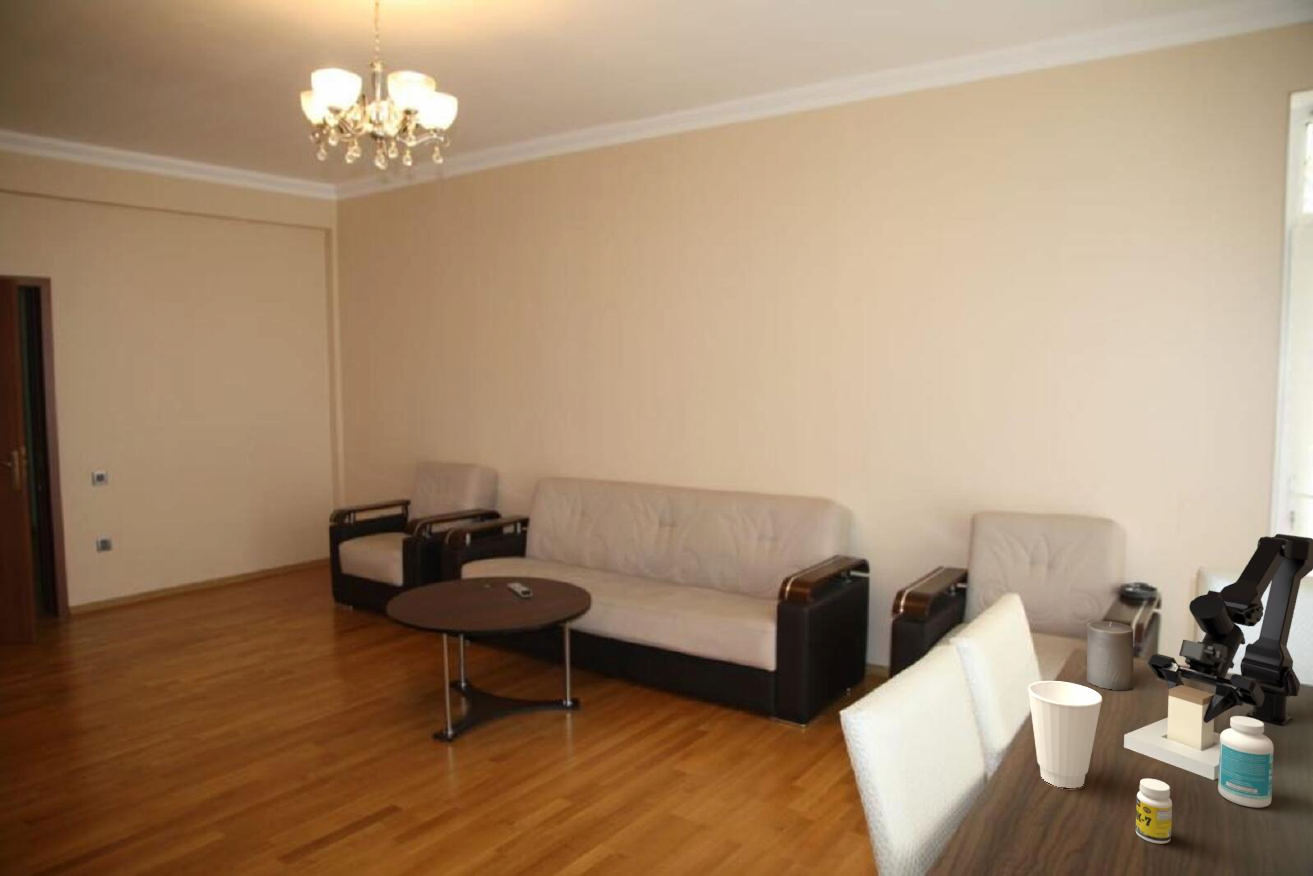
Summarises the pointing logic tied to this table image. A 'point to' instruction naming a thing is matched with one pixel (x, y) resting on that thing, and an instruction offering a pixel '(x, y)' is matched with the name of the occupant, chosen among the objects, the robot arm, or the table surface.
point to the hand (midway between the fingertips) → (1186, 716)
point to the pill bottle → (1246, 763)
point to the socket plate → (1174, 749)
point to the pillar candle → (1110, 655)
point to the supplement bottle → (1154, 811)
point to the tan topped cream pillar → (1189, 717)
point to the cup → (1064, 730)
